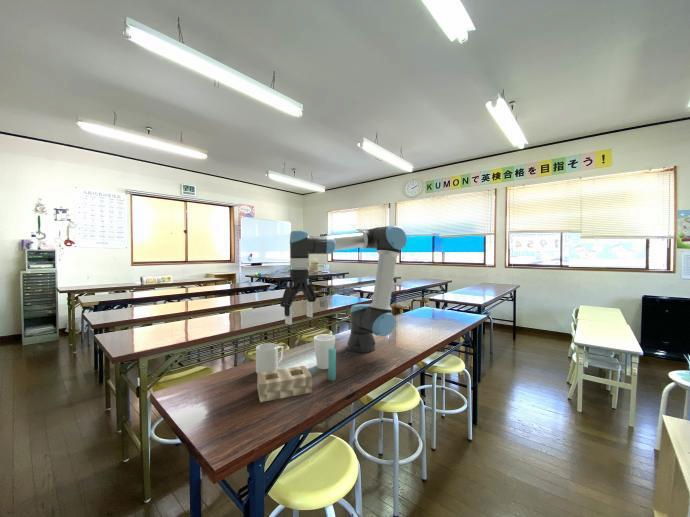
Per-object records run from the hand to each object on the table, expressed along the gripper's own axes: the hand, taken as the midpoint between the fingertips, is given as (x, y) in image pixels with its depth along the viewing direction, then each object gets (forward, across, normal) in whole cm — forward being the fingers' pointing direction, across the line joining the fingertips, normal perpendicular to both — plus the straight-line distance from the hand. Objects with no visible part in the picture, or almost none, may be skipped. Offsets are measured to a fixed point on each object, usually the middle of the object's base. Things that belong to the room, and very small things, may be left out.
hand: (299, 320), depth 116 cm
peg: (+23, -4, +13) cm, 27 cm away
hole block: (+23, +13, +3) cm, 26 cm away
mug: (+23, +4, -13) cm, 26 cm away
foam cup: (+23, -12, +4) cm, 27 cm away
